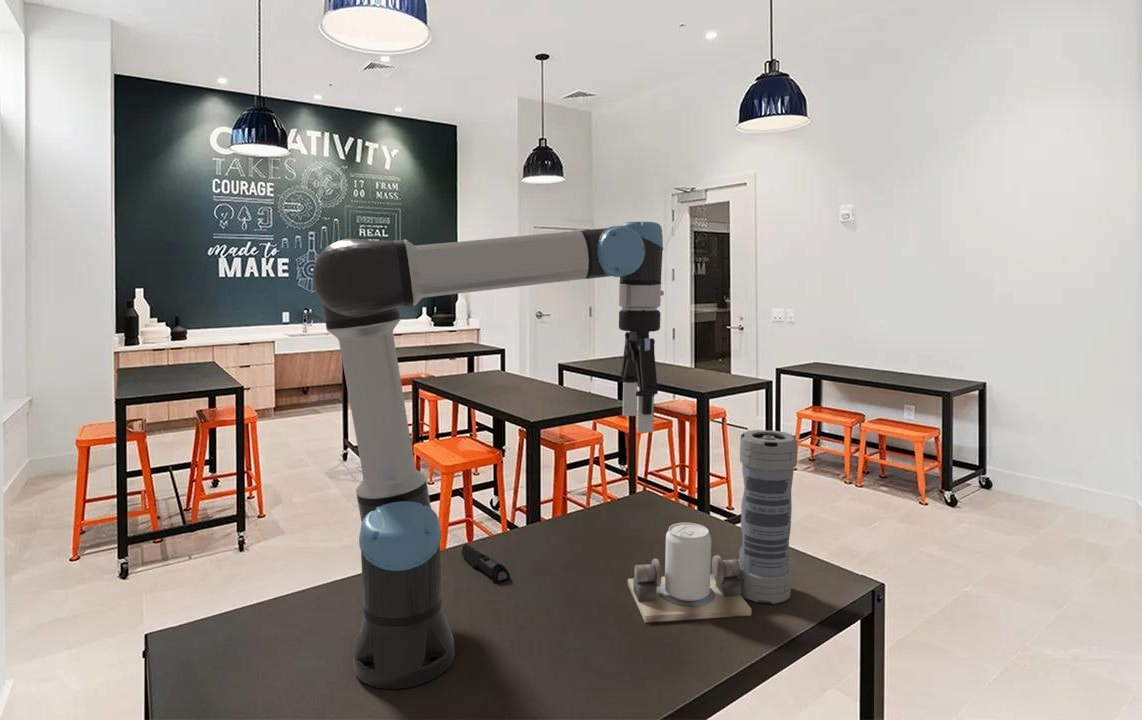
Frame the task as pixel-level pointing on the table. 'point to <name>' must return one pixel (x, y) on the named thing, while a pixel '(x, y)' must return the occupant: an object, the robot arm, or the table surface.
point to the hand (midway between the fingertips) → (636, 423)
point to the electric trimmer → (486, 564)
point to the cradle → (668, 608)
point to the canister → (766, 514)
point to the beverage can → (688, 561)
